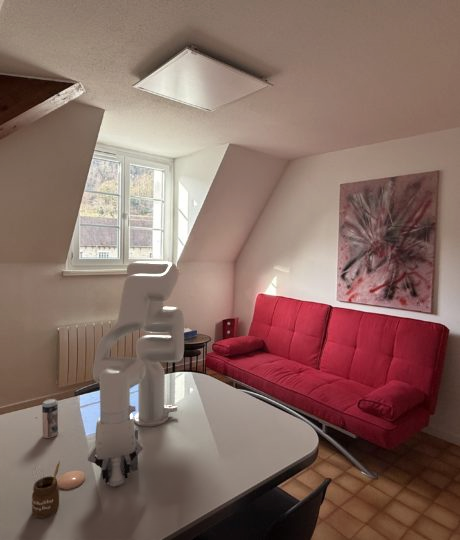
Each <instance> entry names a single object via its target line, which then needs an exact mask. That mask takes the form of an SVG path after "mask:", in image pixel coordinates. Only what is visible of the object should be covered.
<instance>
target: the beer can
mask: <svg viewBox="0 0 460 540" xmlns="http://www.w3.org/2000/svg"><path fill="white" fill-rule="evenodd" d="M58 405H59V404H58V401H57V399H56V398H47V399H45V400H44V401H43V402H42V405H41V409H42V413H41V415H42V437H43V438H45V439H52V438H54V436H55V437H56V436H57V435H58V434H59V414H58V413H59V412H58V411H59V408H58ZM51 437H52V438H51Z"/></svg>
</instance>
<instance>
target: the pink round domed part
mask: <svg viewBox="0 0 460 540" xmlns="http://www.w3.org/2000/svg"><path fill="white" fill-rule="evenodd" d="M85 479H86V474H85V473H84V471H81V470H71V471H67V472H65V473H63V474H62V475H61V476H59V477H58V478H57V486H58V488H60V489H62V490H71V489H74V488H77V487H79V486H80V485H82V484H83V483H84V481H85Z"/></svg>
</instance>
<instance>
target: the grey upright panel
mask: <svg viewBox="0 0 460 540" xmlns="http://www.w3.org/2000/svg"><path fill="white" fill-rule="evenodd" d="M134 428H135V438H136V439H137V440H138V441H139V429H138V427H134ZM124 459H125V455H122V458H121V461H122V462H121V469H122V470H124ZM111 462H112V461H111V460H110V458H108V462H107V464H108V476H109V474H110V472H111V467H112V465H111ZM138 465H139V453H138V454H137V455H136V456H135V458H134V459H133V460H132V461H131V464H130V469H132V471H133V472H134V471H137V470H139V466H138Z"/></svg>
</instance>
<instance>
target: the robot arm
mask: <svg viewBox="0 0 460 540" xmlns="http://www.w3.org/2000/svg"><path fill="white" fill-rule="evenodd" d="M178 270H179V269H178V266H177V265H176V264H175V263H173V262H170V261H143V260H142V261H133V262H130V263H129V264H128V265H127V266H126V274H127V277H126V278H125V280H124V281H123V286H122V287H123V288H122V294H121V299H120V306H119V310H118V318H117V320H116V322H115V323H114V324H113V325H112V326H111V327H109V328H108V330H106V332H105V333H104V334H103V336H102V337H101V339H100V340H99V342H98V344H97V347H96V349H95V350H96V351H95V355H94V359H93V360H94V361H93V368H92V378H93V379H94V381H95V382H96V383H98V384H99V407H100V409H99V411H100V412H99V413H100V414H99V415H100V417H98V418H97V422H96V426H95V441H94V442H95V444H94V446H93V448H92V450H91V451H90V452H89V454H88V455H87V461H88V462H90V463H94V464H95V465H96V466H97V467H99V468H101V476H102V480H104V481H105V484H109V483H108V464H107V462H108V458H113V457H118V456H122V455H125V459H124V469H123V473H124V477H125V480H128V478H129V477H128V476H129V474H130V473H131V468H130V464H131V461H132V460H133V459H134V458H135V456H136V455H137V454H138V455H139V454H140V453H141V452H142V451H143V449H144V447H143V445H142V444H141V442H139V439H138V440H137V439H136V438H135V428H136V427H135V424H136V425H139V426H140V427H141V426H142V427H156V426H160V425H163V424H164V423H166V422H167V421H169V413H176V412H178V406H173V404H168V405H167V404H165V395H166V394H165V392H166V391H165V390H166V389H165V381H166V380H165V378H166V377H165V375H166V374H165V369H164V367H163V366H162V364H161V363H177V362H181V360H183V358H184V353H185V322H184V321H185V320H184V319H185V318H184V317H185V316H184V313H183V311H182V309H181V308H179V307H176V306H164V302H166V301H167V300H169V298H170V297H171V295H172V293H173V291H174V289H175V287H176V284H177V281H178V277H179V271H178ZM140 330H141V331H143V332H145V333H151V334H145V335H142V336H140V337H139V338H138V339H137V341H136V344H135V353H136V357H125V356H124V357H123V356H109V355H110V351H111V349H112V347H113V345H114V344H115V343H116V342H117V341H119V340H120V339H121V338H122V337H124V336H127V335H129V334H131V333H134V332H136V331H140ZM152 333H154V334H152ZM161 334H162V335H161ZM164 334H169V335H164ZM137 385H138V398H137V399H138V401H137V402H138V410H137V412H136V406H135V405H131V399H130V398H131V395H130V393H131V392H130V391H131V390H130V389H132V388H134V387H135V386H137ZM133 412H136V413H135V415H134V416H133Z"/></svg>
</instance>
